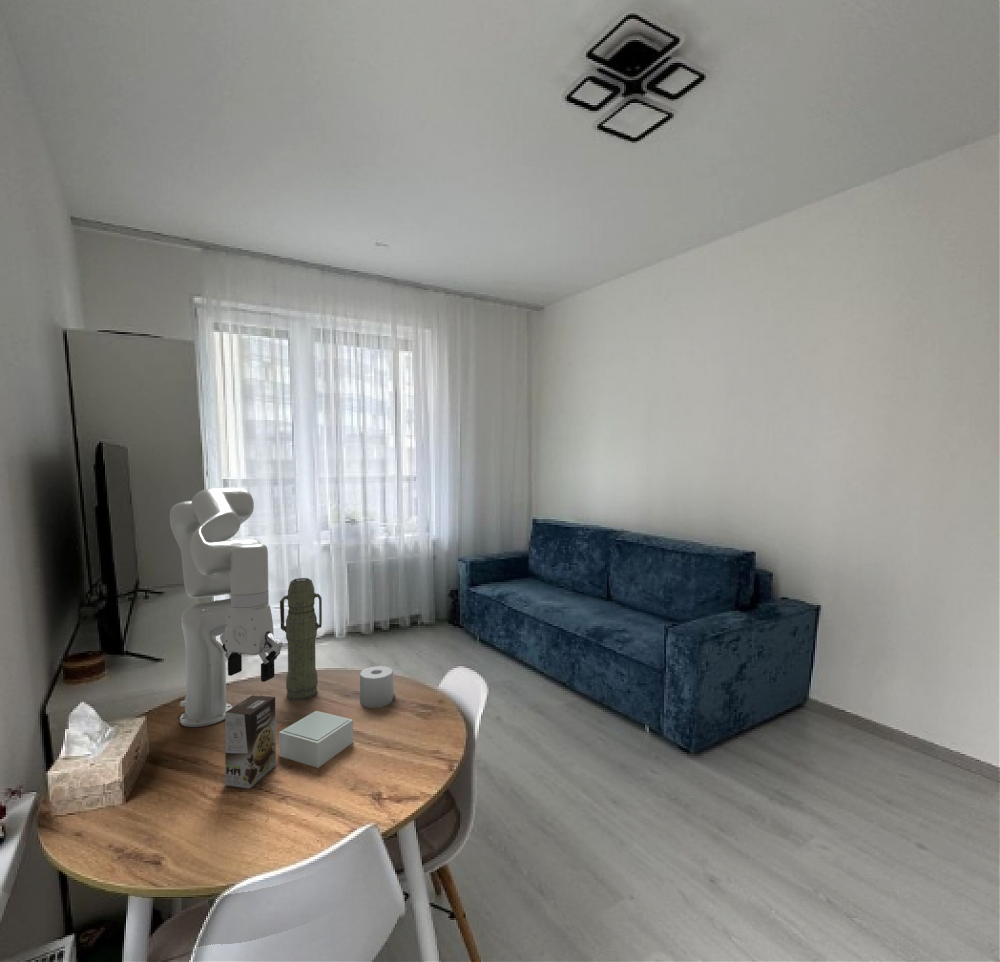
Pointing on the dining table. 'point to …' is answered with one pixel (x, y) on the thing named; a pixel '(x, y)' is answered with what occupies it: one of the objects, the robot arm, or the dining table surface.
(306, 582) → the thermos
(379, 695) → the toilet tissue
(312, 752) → the ceramic box
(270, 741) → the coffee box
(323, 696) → the dining table surface
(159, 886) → the dining table surface
